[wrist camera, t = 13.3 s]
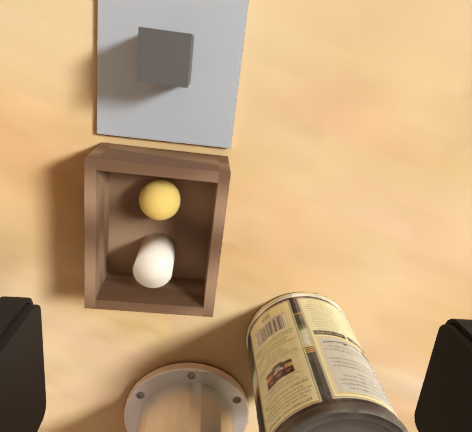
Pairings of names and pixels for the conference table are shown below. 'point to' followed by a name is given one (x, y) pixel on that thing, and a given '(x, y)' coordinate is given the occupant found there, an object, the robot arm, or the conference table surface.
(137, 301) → the box
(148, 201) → the mustard ball
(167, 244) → the white capsule
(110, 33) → the lid
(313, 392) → the coffee can
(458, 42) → the conference table surface
